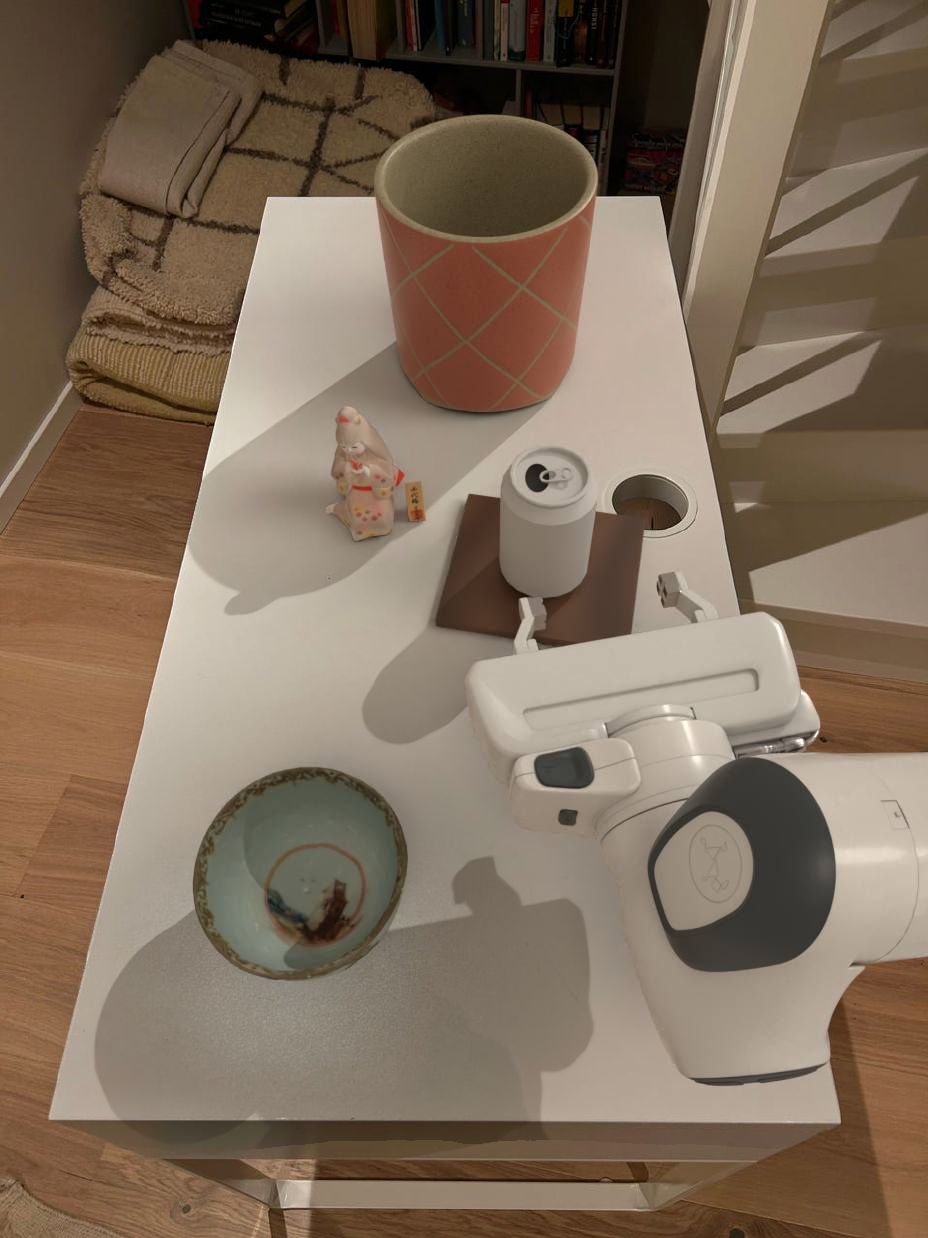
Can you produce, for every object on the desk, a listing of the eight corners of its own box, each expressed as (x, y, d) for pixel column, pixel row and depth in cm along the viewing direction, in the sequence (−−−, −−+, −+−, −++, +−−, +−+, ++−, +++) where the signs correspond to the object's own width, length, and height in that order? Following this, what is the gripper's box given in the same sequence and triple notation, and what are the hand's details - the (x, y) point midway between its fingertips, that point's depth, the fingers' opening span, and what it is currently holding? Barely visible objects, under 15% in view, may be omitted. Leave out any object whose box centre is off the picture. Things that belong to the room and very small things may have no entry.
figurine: (322, 544, 82) (294, 434, 73) (331, 494, 86) (306, 384, 78) (423, 541, 81) (408, 429, 72) (427, 491, 86) (413, 380, 77)
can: (499, 532, 81) (501, 435, 71) (585, 533, 81) (599, 435, 71) (498, 603, 77) (500, 510, 67) (588, 604, 77) (603, 511, 67)
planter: (394, 302, 100) (374, 118, 83) (569, 294, 100) (585, 108, 83) (393, 429, 90) (371, 247, 73) (589, 420, 90) (611, 236, 73)
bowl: (398, 1019, 60) (387, 993, 54) (199, 993, 61) (164, 965, 55) (428, 820, 68) (421, 776, 61) (250, 801, 69) (225, 755, 62)
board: (644, 525, 82) (645, 518, 82) (627, 657, 75) (629, 650, 74) (468, 500, 84) (468, 493, 84) (435, 626, 77) (435, 619, 76)
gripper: (848, 724, 52) (760, 534, 59) (490, 790, 50) (447, 587, 58) (816, 770, 57) (739, 590, 64) (491, 831, 55) (451, 640, 63)
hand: (599, 589), depth 61 cm, fingers open, 8 cm apart
